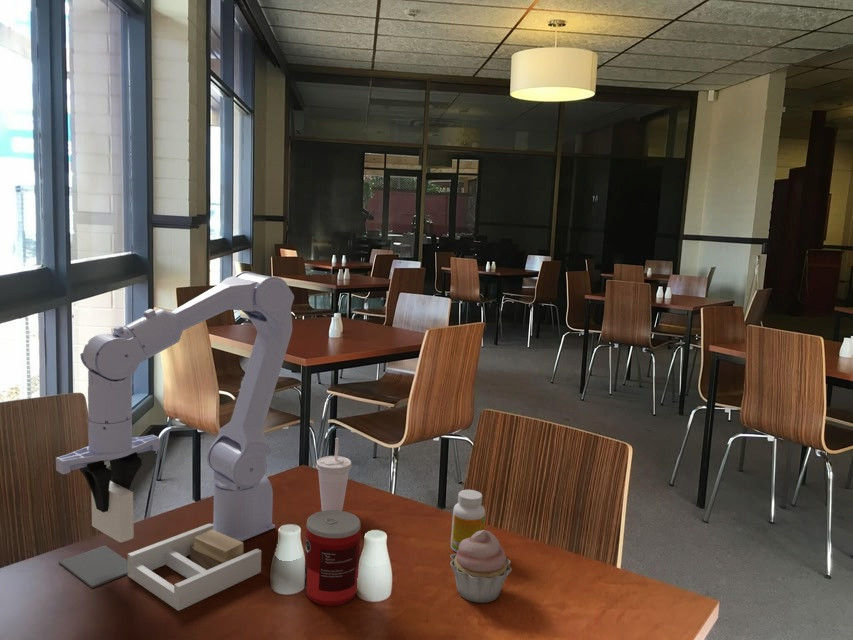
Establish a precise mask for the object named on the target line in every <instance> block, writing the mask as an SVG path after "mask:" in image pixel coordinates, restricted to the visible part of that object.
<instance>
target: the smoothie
mask: <svg viewBox="0 0 853 640" xmlns="http://www.w3.org/2000/svg"><path fill="white" fill-rule="evenodd" d="M334 443H335V444H334V455H327V456H323V457H320V458H318V460H316V465H315V467H316V469H317V471H318V473H317V474H318V481H319V484H318V485H319V493H320V495H319V496H320V505H321V511H326V510H339V511H343V507H344V502H345V498H346V497H345V496H346V492H347V491H346V490H347V485H348V479H349V473H350V471H351V469H352V460H351V459H350V458H348V457H345V456H340V455H339V438H338V437H335V442H334Z"/></svg>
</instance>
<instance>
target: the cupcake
mask: <svg viewBox="0 0 853 640" xmlns="http://www.w3.org/2000/svg"><path fill="white" fill-rule="evenodd" d="M449 557H450V560H451V561H450V563H449V565H450V566H451V570H452V571H453V573H454V578H455V585H456V589H457V592H458V594H459V596H461V598H463V599H465V600H466V601H469V602H473V603H479V604H485V603H486V604H487V603H491V602H493V601H495V600H497V598H498V597H499V595H500V593H501V590H502V587H503V585H504V583H505V580H506V578H507V577H508V575H510V573H511V572H512V571H513V569H512V567H511V566H510V564H511V560H510V559H507V555H506V552H505V550H504V548H503V547H502V545H501V544H500V541H499V540H498V538H497V537H496V536H495V535H494V534H493V533H492V532H491V531H488V530H485V529H484V530H482V531H478V532H476V533H475V534H474V535H472V537H471V538H466V539H464V540H462V541H461V543H460V545H459V550H458V551H457V553H453V554H450V555H449Z"/></svg>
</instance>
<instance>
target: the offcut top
mask: <svg viewBox="0 0 853 640" xmlns="http://www.w3.org/2000/svg"><path fill="white" fill-rule="evenodd" d="M244 544H245V543H244V541H242V542H241V541H238V540H236V539H233V538H231V537H229V536H226V535H224V534H222V533H219V532H217V531H215V530H210V531H207V532H205V533H203V534H201V535H199V536H197V537H194V550H195V551H198V552H200V553H202V554H204V555H206V556H209V557H211V558H213V559H215V560H217V561H220V562H222V563H225V562H227V561H229V560H232V559H234V558H236V557H239V556H241V555H243V554H244V547H245V546H244Z"/></svg>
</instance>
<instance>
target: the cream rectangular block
mask: <svg viewBox="0 0 853 640" xmlns="http://www.w3.org/2000/svg"><path fill="white" fill-rule="evenodd" d="M90 491H91V490H90ZM90 494H91V502H90V503H91V527H93V528H95V529H96V530H98V531H100V532H101V533H103V534H105V535H106V536H107V537H110V538H111V539H114V540H115V541H116V542H118V543H121V544H122V543H123V542H127V541H130V540H132V539H134V538H135V537H134V536H135V535H134V534H135V533H134V529H135V527H134V492H133V491H132V490H130V489H129V490H128V489H126V488H124V487H122V486H120V485H118V484H116V483H114V482H113V480H110V485H109V507H108V511H107V512H101V511H100V510H98V509H96V504H95V500H94V497H93V494H92V491H91V493H90Z"/></svg>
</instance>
